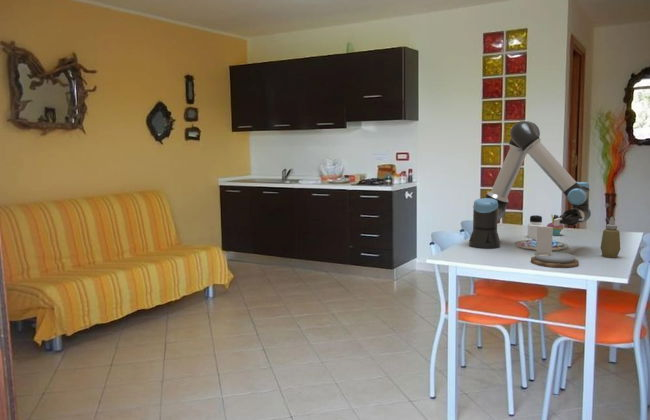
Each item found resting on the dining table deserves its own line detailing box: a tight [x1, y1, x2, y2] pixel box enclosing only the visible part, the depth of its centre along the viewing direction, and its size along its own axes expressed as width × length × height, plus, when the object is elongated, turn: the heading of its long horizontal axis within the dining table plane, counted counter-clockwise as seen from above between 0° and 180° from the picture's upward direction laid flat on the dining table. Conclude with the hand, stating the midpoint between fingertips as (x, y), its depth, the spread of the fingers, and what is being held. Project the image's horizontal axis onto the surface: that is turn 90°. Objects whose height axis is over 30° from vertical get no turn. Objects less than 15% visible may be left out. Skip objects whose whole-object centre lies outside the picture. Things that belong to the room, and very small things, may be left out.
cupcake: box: [546, 214, 564, 237], centre depth 310 cm, size 9×8×12 cm
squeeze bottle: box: [599, 216, 621, 258], centre depth 251 cm, size 8×8×18 cm
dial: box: [534, 225, 576, 263], centre depth 238 cm, size 16×16×14 cm
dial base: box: [530, 255, 580, 269], centre depth 239 cm, size 19×19×2 cm
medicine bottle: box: [527, 214, 545, 240], centre depth 302 cm, size 7×7×12 cm
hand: (555, 222), depth 244 cm, fingers closed
